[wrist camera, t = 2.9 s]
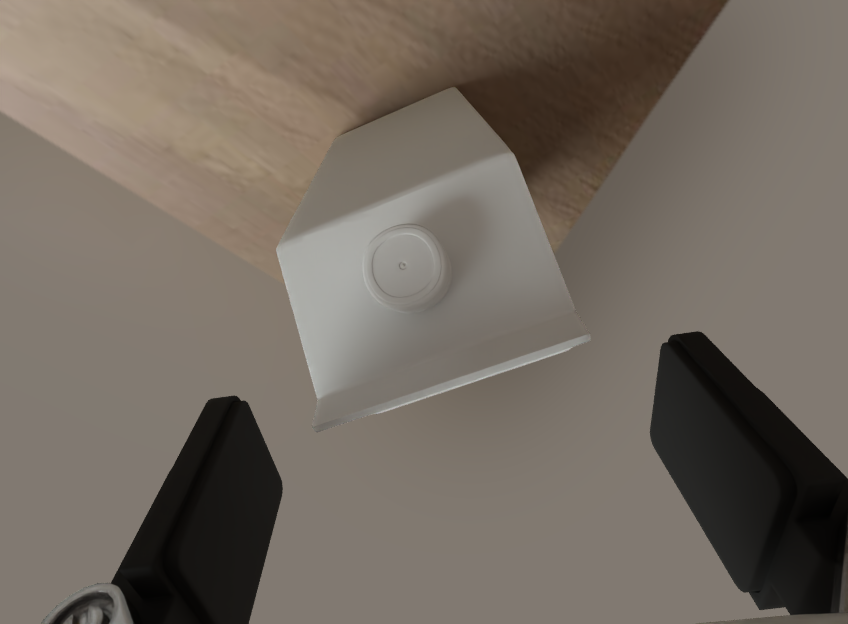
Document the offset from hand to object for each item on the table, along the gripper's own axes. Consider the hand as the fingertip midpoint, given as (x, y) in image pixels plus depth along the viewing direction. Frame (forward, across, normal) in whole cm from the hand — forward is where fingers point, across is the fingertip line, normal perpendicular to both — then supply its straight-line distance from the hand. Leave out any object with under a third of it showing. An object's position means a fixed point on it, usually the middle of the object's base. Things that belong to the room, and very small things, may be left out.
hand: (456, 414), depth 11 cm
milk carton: (+20, 0, 0) cm, 20 cm away
